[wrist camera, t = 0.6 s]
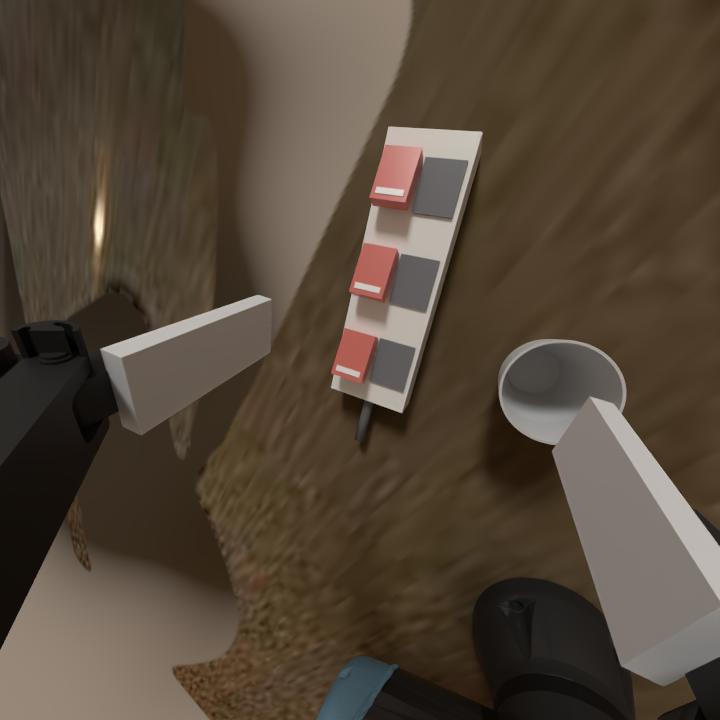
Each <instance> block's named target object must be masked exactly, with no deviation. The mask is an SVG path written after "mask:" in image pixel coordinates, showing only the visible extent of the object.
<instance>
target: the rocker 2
mask: <svg viewBox="0 0 720 720" xmlns="http://www.w3.org/2000/svg"><path fill="white" fill-rule="evenodd" d="M398 258H399V252H398V250H397V249H396V248H390V247H385V246H380V245H374V244H369V243H364V244H363V247H362V250H361V253H360V257H359V260H358V263H357V267H356V270H355V273H354V276H353V280H352V283H351V286H350V290H349V292H350V293H351V294H353V295H355V296H359V297H363V298H367V299H371V300H375V301H379V302H383V303H385V300H386V296H387V293H388V290H389V287H390V284H391V280H392V277H393V274H394V271H395V267H396V264H397V261H398Z"/></svg>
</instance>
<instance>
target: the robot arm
mask: <svg viewBox="0 0 720 720" xmlns="http://www.w3.org/2000/svg"><path fill="white" fill-rule="evenodd" d="M271 312H272V299H269V298H266V297H263V296H260V295H256V296H253V297H250V298H247V299H244V300H242V301H238V302H236V303H233V304H230V305H227V306H224V307H221V308H218V309H215V310H212V311H209V312H206V313H203V314H201V315H198V316H195V317H192V318H189V319H186V320H183V321H180V322H177V323H174V324H171V325H169V326H166V327H163V328H160V329H157V330H154V331H151V332H148V333H145V334H142V335H140V336H137V337H134V338H131V339H128V340H125V341H122V342H119V343H116V344H113V345H111V346H108V347H104V348H102V349H100V350H97V351H94V352H91V353H88V352H87V349H86V346H85V342H84V340H83V336H82V333H81V330H80V327H79V326H78V325H77V324H76V323H72V322H69V321H58V320H56V321H41V322H34V323H29V324H25V325H22V326H18V327H17V328H14V329H12V330H11V332H12V335H13V337H14V339H15V341H16V343H17V346H18V348H19V350H20V353H21V355H17V354H15V353H14V350H13V348H12V346H11V344H10V341H9V340H7V339H6V338H3V337H0V649H1V647H2V645H3V643H4V641H5V639H6V637H7V635H8V633H9V631H10V629H11V627H12V625H13V623H14V621H15V619H16V616H17V615H18V612H19V610H20V608H21V606H22V604H23V602H24V600H25V598H26V596H27V594H28V592H29V590H30V588H31V586H32V584H33V582H34V579H35V578H36V576H37V574H38V571H39V569H40V567H41V565H42V563H43V561H44V559H45V557H46V555H47V553H48V551H49V549H50V547H51V545H52V543H53V541H54V539H55V537H56V535H57V533H58V531H59V528H60V527H61V525H62V522H63V520H64V518H65V516H66V514H67V512H68V510H69V508H70V506H71V504H72V502H73V500H74V498H75V496H76V494H77V492H78V489H79V488H80V486H81V484H82V482H83V480H84V478H85V476H86V473H87V471H88V469H89V467H90V465H91V463H92V461H93V459H94V457H95V455H96V453H97V451H98V449H99V447H100V445H101V443H102V440H103V439H104V437H105V435H106V433H107V431H108V429H109V424H110V421H109V418H108V417H109V416H110V415H112V414H114V413H116V412H119V416H120V419H121V423H122V426H123V427H125V428H127V429H129V430H131V431H133V432H135V433H137V434H139V435H142V434H144V433H146V432H147V431H149V430H150V429H152V428H153V427H155V426H156V425H158V424H159V423H161V422H163V421H164V420H166V419H167V418H169V417H170V416H172V415H174V414H175V413H177V412H178V411H180V410H181V409H183V408H184V407H186V406H188V405H189V404H191V403H192V402H194V401H195V400H197V399H198V398H200V397H202V396H203V395H205V394H206V393H208V392H209V391H211V390H212V389H214V388H215V387H217V386H218V385H220V384H222V383H223V382H225V381H226V380H228V379H229V378H231V377H233V376H234V375H236V374H237V373H239V372H240V371H242V370H243V369H245V368H247V367H248V366H250V365H251V364H253V363H254V362H256V361H258V360H259V359H261V358H262V357H264V356H265V355H267V354H268V353H270V351H271ZM552 454H553V457H554V460H555V463H556V466H557V469H558V472H559V475H560V479H561V482H562V485H563V488H564V491H565V494H566V497H567V500H568V503H569V506H570V510H571V513H572V516H573V519H574V522H575V525H576V528H577V531H578V534H579V537H580V541H581V544H582V547H583V550H584V553H585V556H586V559H587V562H588V565H589V569H590V572H591V575H592V578H593V581H594V584H595V587H596V590H597V593H598V596H599V600H600V603H601V606H602V609H603V612H604V615H605V616H604V615H603V614H602V613H601V612H600V611H599V610H598V609H597V608H596V607H595V606H594V605H593V604H591V603H590V602H589V601H587V600H586V599H585V598H583V597H582V596H580V595H579V594H577V593H575V592H573V591H572V590H570V589H568V588H565V587H563V586H561V585H558V584H555V583H552V582H549V581H545V580H540V579H534V578H513V579H507V580H504V581H501V582H498V583H496V584H494V585H492V586H490V587H489V588H487V589H486V590H485V591H484V592H483V593H482V594H481V596H480V597H479V599H478V600H477V602H476V605H475V608H474V615H473V625H474V641H475V646H476V650H477V653H478V656H479V659H480V662H481V665H482V669H483V672H484V675H485V678H486V681H487V684H488V687H489V690H490V693H491V696H492V700H493V704H494V710H492V709H490V708H487V707H485V706H483V705H481V704H479V703H477V702H474V701H472V700H470V699H468V698H465V697H463V696H461V695H459V694H456V693H454V692H452V691H450V690H447V689H445V688H443V687H441V686H438V685H436V684H434V683H432V682H429V681H427V680H425V679H423V678H420V677H418V676H416V675H414V674H411V673H409V672H407V671H405V670H402V669H400V667H399V665H397V664H393V665H390V664H387V663H385V662H382V661H379V660H376V659H374V658H371V657H368V656H364V655H361V656H357V657H354V658H353V659H351V660H350V661H349V662H348V663H347V664H346V665H345V666H344V667H343V669H342V670H341V672H340V673H339V675H338V676H337V678H336V680H335V682H334V683H333V685H332V687H331V689H330V691H329V693H328V695H327V697H326V699H325V701H324V703H323V705H322V708H321V710H320V712H319V715H318V717H317V720H636V716H635V707H634V697H633V688H632V678H631V671H632V672H634V673H636V674H638V675H640V676H643V677H645V678H647V679H649V680H651V681H653V682H655V683H657V684H659V685H661V686H663V687H664V686H666V685H668V684H670V683H672V682H674V681H676V680H678V679H680V678H682V677H685V676H686V677H687V679H688V682H689V684H690V686H691V688H692V690H693V693H694V695H695V697H696V699H697V700H695V701H692V702H690V703H688V704H685V705H683V706H680V707H678V708H676V709H673V710H671V711H668V712H666V713H664V714H662V715H661V716H660V717H658V718H657V719H658V720H720V531H719V530H718V529H717V528H715V527H714V526H713V525H712V524H711V523H710V522H709V521H708V520H707V519H706V518H704V517H703V516H702V515H701V514H700V513H699V512H698V511H697V510H695V509H692V508H691V507H690V506H689V504H688V503H687V502H686V500H685V499H684V498H683V496H682V495H681V494H680V492H679V491H678V490H677V488H676V487H675V486H674V484H673V483H672V482H671V480H670V479H669V477H668V476H667V475H666V473H665V472H664V471H663V469H662V468H661V467H660V465H659V464H658V463H657V461H656V460H655V459H654V457H653V456H652V455H651V453H650V452H649V451H648V449H647V448H646V446H645V445H644V444H643V442H642V441H641V440H640V438H639V437H638V436H637V434H636V433H635V432H634V430H633V429H632V428H631V426H630V425H629V424H628V422H627V421H626V420H625V418H624V417H623V416H622V414H621V413H620V411H619V410H618V409H617V407H616V406H615V405H614V404H613V403H610V402H607V401H603V400H600V399H597V398H594V397H590V396H589V398H588V399H587V401H586V402H585V404H584V405H583V407H582V408H581V409H580V411H579V412H578V414H577V415H576V417H575V418H574V420H573V421H572V423H571V424H570V426H569V427H568V428H567V430H566V431H565V433H564V434H563V436H562V437H561V439H560V440H559V442H558V443H557V444H556V446H555V447H554V449H553V450H552Z"/></svg>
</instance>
